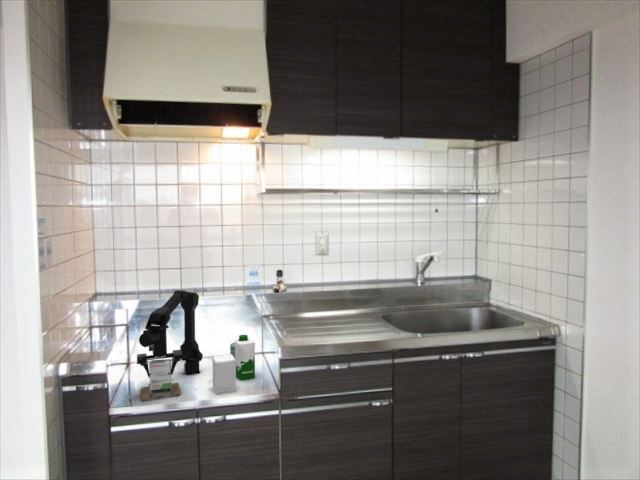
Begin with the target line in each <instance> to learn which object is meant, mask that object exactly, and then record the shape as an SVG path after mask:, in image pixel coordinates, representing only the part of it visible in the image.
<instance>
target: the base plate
mask: <svg viewBox="0 0 640 480" xmlns="http://www.w3.org/2000/svg"><path fill="white" fill-rule="evenodd" d="M180 395H181V396H182V391H181V388H180V384H179V382H172V386H171V388H170V389H158V390H150V383H148V386H142V387H140V398H141V399H140V400H141V401H143V402H150V401H154V400H153V399H156V400H161V399H160V398H163V399H166V398H165V397H170V398H173V397H172V396H177V397H181V396H180Z"/></svg>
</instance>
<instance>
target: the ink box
mask: <svg viewBox="0 0 640 480" xmlns="http://www.w3.org/2000/svg"><path fill="white" fill-rule="evenodd" d="M171 366H172V358H171V359H170V358H168V359H154V360H151V361H150V362H149V363H148V368H149V373H150V378H149V384H150V390H158V389H170V388H171V386H172V383H173V382H172V381H173V380H172V375H171Z"/></svg>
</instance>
